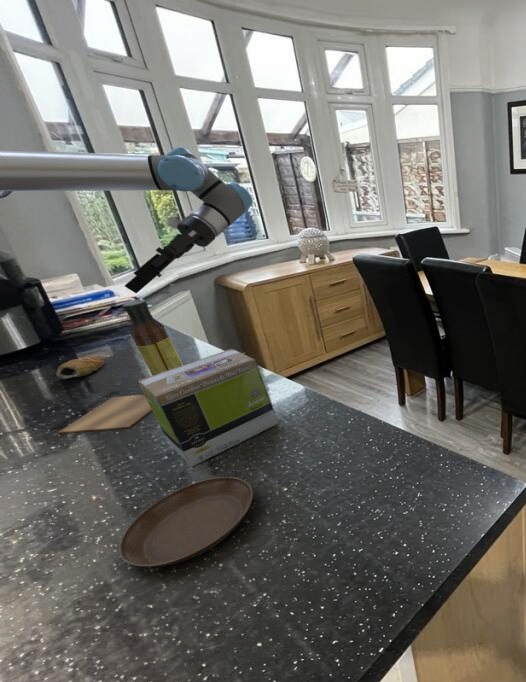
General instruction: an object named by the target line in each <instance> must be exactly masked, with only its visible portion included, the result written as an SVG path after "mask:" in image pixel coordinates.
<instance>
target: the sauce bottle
mask: <svg viewBox="0 0 526 682" xmlns="http://www.w3.org/2000/svg"><path fill="white" fill-rule="evenodd" d="M122 308H123V310H124V311H125V312H126V313H127V315H128V317H129V319H130V322H131V327H130V331H129V332H130V336H131V338H132V339H133V341H134V343H135V346H136V348H137V350H138V352H139V353H140V356H141V357H142V359H143V361H144V363H145V364H146V367H147V369H148V371H149V372H150V374H151V375H150V376H154V375H157V374H159V373H162V372H165V371H168V370H171V369H174V368H177V367H179V366H182V365H184V364H183V361H182V360H181V357H180V356H179V354H178V351H177V350H176V347H175V345H174V343H173V341H172V339H171V337H170V335H169V334H168V332H167V331H166V328H165V326H164V324H162V323H160V322H159V321H158V320H157V319H155V318H154V317H153V315H152V313H151V312H150V308H149V305H148V303H147V301H146V300H145V299H138V300H131V301H129V302H125V303H123V304H122Z"/></svg>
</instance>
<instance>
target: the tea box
mask: <svg viewBox="0 0 526 682" xmlns="http://www.w3.org/2000/svg"><path fill="white" fill-rule="evenodd" d="M137 383H138V386H139V387H140V389H141V391H142V394H143V395H145V397H146V399H147V401H148V403H149V405H150V407H151V409H152V411H151V412H153V415H154V417H155V419H156V421H157V424H158V425H159V428H160V429H161V432H162V433H163V434H164V437H165V438H166V441H167V442H168V444H169V446H170V447H171V448H172V449H173V450H174V451H175V452H176V453H177V454H178V455H179V456H180V457H181V459H183V460H184V461H185V462H186V464H187V465H189V467H191V468H193V467H194V466H196V465H198V464H200V463H202V462H204V461H207V460H209V459H211V458H212V457H215V456H217V455H218V454H220V453H223V452H225V451H226V450H229V449H230V448H232V447H235V446H237V445H238V444H240V443H243V442H244V441H246V440H249V439H250V438H253V437H254V436H257V435H259V434H260V433H262V432H265V431H266V430H268V429H270V428H272V427H275V426H277V425H278V424H279V421H278V419H277V415H276V412H275V410H274V408H273V407H274V406H273V404H272V402H271V399H270V396H269V393H268V390H267V387H266V385H265V382H264V379H263V376H262V374H261V371H260V367H259V366H258V363H257V360H256V359H255V358H252V357H250V356H248V355H246V354H244V353H242V352H240V351H237V350H235V349H234V348H231V349H227V350H224V351H221V352H219V353H215V354H213V355H210V356H206V357H203V358H201V359H198V360H195V361H192V362H189V363H186V364H183V365H182V366H179V367H177V368H174V369H171V370H168V371H165V372H162V373H159V374H157V375H154V376H152V375H150V376H148V377H145V378H142V379H139V380H137Z"/></svg>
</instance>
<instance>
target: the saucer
mask: <svg viewBox="0 0 526 682" xmlns="http://www.w3.org/2000/svg"><path fill="white" fill-rule="evenodd" d="M253 497H254V492H253V489H252V486H251V485H250V483H249V482H247V481H246V480H244V479H243V478H240V477H235V476H218V477H212V478H211V477H210V478H207V479H203V480H199V481H197V482H193V483H190V484H188V485H185V486H182V487H180V488H179V489H176V490H174V491H173V492H171V493H168V494H166V495H165V496H163V497H162V498H160V499H159V500H157V501H155V502H154V503H153V504H151V505H150V506H149V507H147V508H146V509H145V510H143V511H142V512H141V513H140V514H139V515H138V516H137V517H135V519H134V520H133V521H132V522H131V523H130V525H129V526H128V527H127V528H126V530H125V531H124V532H123V534H122V537H121V538H120V542H119V546H118V554H119V556H120V558H121V560H122V561H124V562H125V563H126V564H129V565H132V566H137V567H144V568H156V567H157V568H158V567H166V566H170V565H171V566H172V565H176V564H179V563H182V562H186V561H188V560H191V559H193V558H197V557H198V556H200V555H202V554H204V553H206V552H207V551H209V550H211V549H212V548H214V547H216V546H217V545H218V544H219V543H221V542H222V541H224V540H225V539H226V538H227V537H228V536H229V535H231V533H232V532H233V531H234V530H235V529H236V528H237V527H238V526H239V525H240V523H241V522H242V521H243V519H244V518H245V516H246V515H247V514H248V511H249V510H250V507H251V505H252V501H253Z"/></svg>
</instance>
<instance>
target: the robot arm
mask: <svg viewBox="0 0 526 682" xmlns="http://www.w3.org/2000/svg"><path fill="white" fill-rule="evenodd" d="M88 191H90V192H92V191H93V192H94V191H96V192H101V191H102V192H103V191H105V192H106V191H108V192H111V191H114V192H117V191H119V192H120V191H125V192H126V191H127V192H128V191H164V192H168V191H171V192H172V191H177V192H178V191H179V192H190V193H192V194H193V195H194V196H195V197H196V198H198V199H199V200H200V201H202V202H203V203H201V204H200V205H198V206H197V207H196V208H195V209H193V210H192V211H191V212H190V213H189V214H188V215H186V216H185V217H184V218H182V219H181V220H180V221H179V222H178V223H176V228H177V230H178V232H179V233H178V234H177V235H175V236H174V237H173V239H171V240H170V241H169V243H168V244H167V245H164V246H163V248H162V247H160V246H158V247H157V248H156V249H155V251H156V252H157V253H155V255H153V256H152V257H151V258H150V259H148V260H147V261H146V262H144V264H142V265H141V266H139V268H138V269H137V270H135V271H134V272H133V275H135V276H134V277H132V278H131V279H130V280H129V281H128V282H127V283H125V284H124V287H125V288H126V289H128V290H129V291H131V292H132V293H134V294H138V293H139V292H140V291H141V290H142V289H143V288H144V287H146V286H147V285H148V284H149V283H150V282H151V281H153V280H154V279H155V278H157V277H158V278H162V276H163V274H162V273H161V272H163V270H165V269H166V268H167V267H168V266H169V265H170V264H171V263H173V262H174V261H175V260H176V259H177V260H178V259H180V258H181V257H182V256H183V255H185V254H187V253H189V252H190V251H191V250H192V249H193V248H194V247H195V246H198V247H201V248H205V247H209V245H210V244H211V243H212V242H213V241H215V240H216V237H219V236H220V235H221V234H222V233H223V234H226V233H228V232H227V228H229V227H230V226H231V225H232V224H234V223H235V222H236V221H237V220H238V219H240V217H242V216H243V215H245V213H246V212H247V211H248V210H249V209H250V208H251V207H252V206H253V202H254V200H253V196H252V195H251V194H250V192H249V191H248V189H246V188H245V187H243V186H242V185H240V184H239V183H237V182H234V181H230V182H227V183H226V182H225V181H224V180H222V179H220V178H219V177H218V176H217V174H216V173H214V172H213V171H212V170H211V169H210V168H208V167H207V165H205V164H204V163H203V162H202V161H201V160H199V158H198V157H197V156H196V155H195V154H193V153H192V152H190V151H189V150H188V149H187V148H185V147H183V146H177V147H174V148H173V149H171V150H170V151H169V152H168V153H166V154H165V155H161V154H136V153H133V154H132V153H104V152H103V153H102V152H101V153H100V152H99V153H98V152H97V153H96V152H72V151H71V152H70V151H69V152H68V151H36V150H6V149H5V150H3V149H0V199H3V198H6V197H8V196H10V195H11V194H12V193H14V192H88ZM155 251H154V252H155Z"/></svg>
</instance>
